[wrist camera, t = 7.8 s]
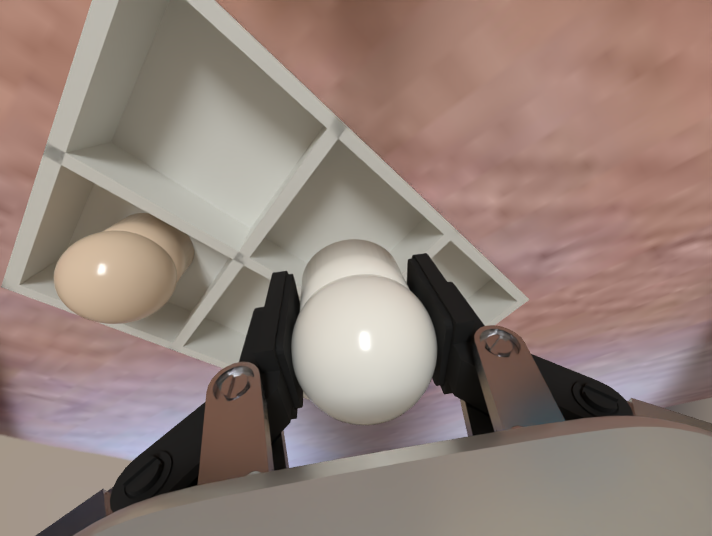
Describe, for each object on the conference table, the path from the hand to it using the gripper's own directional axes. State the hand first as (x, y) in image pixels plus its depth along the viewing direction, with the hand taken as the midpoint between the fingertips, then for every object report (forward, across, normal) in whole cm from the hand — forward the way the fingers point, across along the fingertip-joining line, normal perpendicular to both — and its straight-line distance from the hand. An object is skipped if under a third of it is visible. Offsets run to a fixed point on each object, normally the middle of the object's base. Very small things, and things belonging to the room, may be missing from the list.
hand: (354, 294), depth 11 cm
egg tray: (+8, +3, +3) cm, 9 cm away
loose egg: (+1, 0, 0) cm, 1 cm away
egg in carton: (+7, +11, 0) cm, 13 cm away
